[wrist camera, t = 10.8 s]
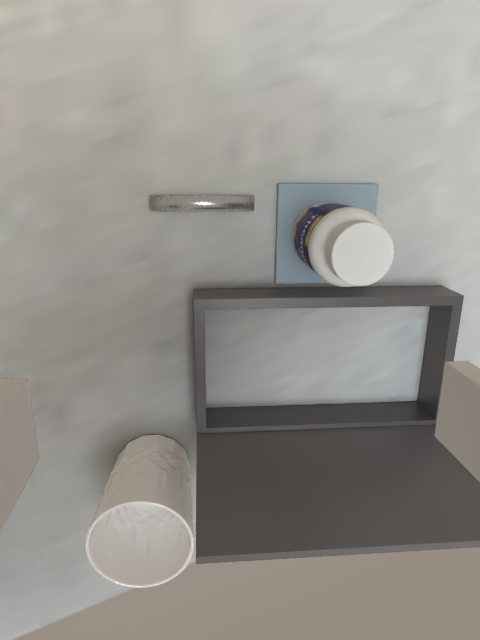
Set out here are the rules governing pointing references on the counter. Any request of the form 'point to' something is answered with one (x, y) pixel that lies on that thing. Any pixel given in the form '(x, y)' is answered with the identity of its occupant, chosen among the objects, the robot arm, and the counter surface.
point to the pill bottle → (343, 244)
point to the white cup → (144, 515)
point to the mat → (291, 207)
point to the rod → (201, 202)
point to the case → (331, 453)
